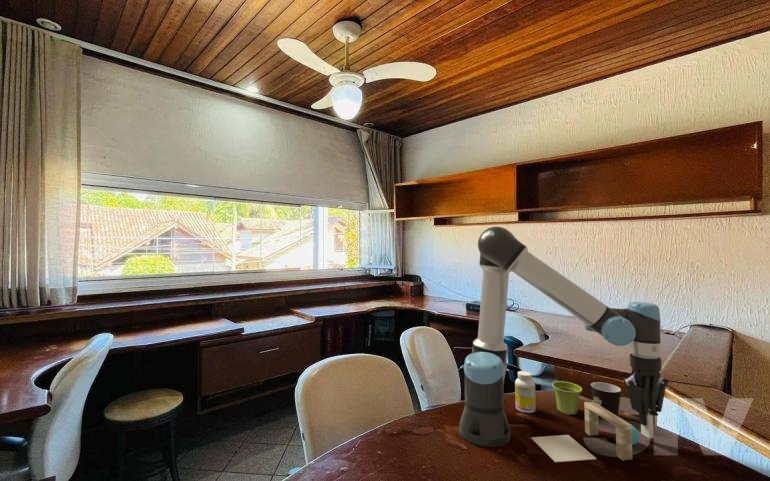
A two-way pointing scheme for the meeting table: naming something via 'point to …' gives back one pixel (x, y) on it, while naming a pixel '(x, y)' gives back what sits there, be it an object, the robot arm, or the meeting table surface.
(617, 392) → the coffee mug
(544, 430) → the meeting table surface
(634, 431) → the ball
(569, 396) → the plant pot
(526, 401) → the supplement bottle
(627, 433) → the bridge
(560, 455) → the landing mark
